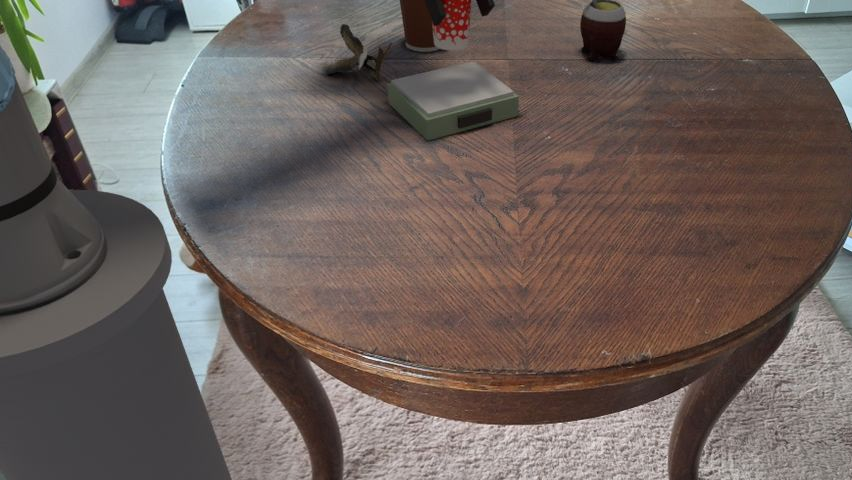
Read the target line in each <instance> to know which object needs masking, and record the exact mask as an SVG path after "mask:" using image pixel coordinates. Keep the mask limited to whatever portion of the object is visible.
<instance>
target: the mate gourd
mask: <svg viewBox="0 0 852 480" xmlns="http://www.w3.org/2000/svg"><path fill="white" fill-rule="evenodd" d="M626 17H627V16H626V11H625V8H624V7H623V5H622V4H621V3H620V2H618V1H616V0H590V1H589V2H588V3H587V4H586V5H585V7H584V8H583V10H582V13H581V17H580V23H579V26H580V27H579V28H580V29H579V30H580V36H581V39H582V46H581V52H582V53H586V54H590V56H589V58H588V62H591V63H593V62H595V61H596V60H598V59H599V58H605V59H608V60H612V61H617V60H618V58H619V56H618V55H617V54H618V52H619V49H620V47H621V44H622V41H623V37H624V34H625V31H626V26H627V18H626Z"/></svg>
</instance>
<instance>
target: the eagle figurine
mask: <svg viewBox="0 0 852 480" xmlns="http://www.w3.org/2000/svg"><path fill="white" fill-rule="evenodd" d="M339 29H340V32H339V34H340V35H341V37H342V40H343V41H344V44H345V46H346V47H347V49H348V50H349V51H351V53H353V55H354V56H352V57H348V58H341V59H337V61H335V62H334V63H333V65H330V66H328V67H327V69H326V74H328V75H330V74H331V75H332V74H333V73H335V74H336V73H344V74H347V73H351V72H352V71H353V70H354V69H355V68H356V67H358V71H360V70H361V68H364V69H366V70H368V71H369V72H372V73H374V74H373V75H374V77H375V79H376V81H379V79H380V71H381V68H382V66H383V64H384V61H385V59H386V58H387V56H388V54H389V52H390V50H391V48H392V45H393V43H392V42H390V43H389V44H388V46H387V47H386V48H385V50H384V49H383V48H382V47H381V46H378V50H377V56H373V55H370V54H368V48H365V49H364V45H363V42H362V41H361V40H360V38H359V37H356V36H355V35H354V34H353V32H352V30H351V29H350V26H349V25H348V24H346V23H342V24H341V25H340V27H339ZM369 61H373V62H374V65H375V66H374V67H373V66H372V65H370V64H369Z"/></svg>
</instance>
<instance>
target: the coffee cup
mask: <svg viewBox="0 0 852 480" xmlns="http://www.w3.org/2000/svg"><path fill="white" fill-rule="evenodd" d="M399 5H400V13H401V19H402V26H403V31H404V32H403V33H404V40H405V46H406V48H407V49H409V50H411V51H414V52H422V53H425V52H427V53H428V52H435V51H438V50H441V49H440V48H438V47H436V46H435V45H434V38H433V28H432V19H431V17H430V14H429V11H428V9H427V6H426V3H425V1H424V0H399Z"/></svg>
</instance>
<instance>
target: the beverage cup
mask: <svg viewBox="0 0 852 480" xmlns="http://www.w3.org/2000/svg"><path fill="white" fill-rule="evenodd" d="M441 2H442V4H443V7H444V10H445V12H446V17H445V18H444V19H443V21H442V22H441V24H440V25H438V26H434V25H433V22H432V28H433V38H434V45H435V46H436V47H438V48H440V49H439V50H444V51H459V50H463V49H466V48H467V47H469V44H470V31H471V30H470V28H471V11H472V0H441Z"/></svg>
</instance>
